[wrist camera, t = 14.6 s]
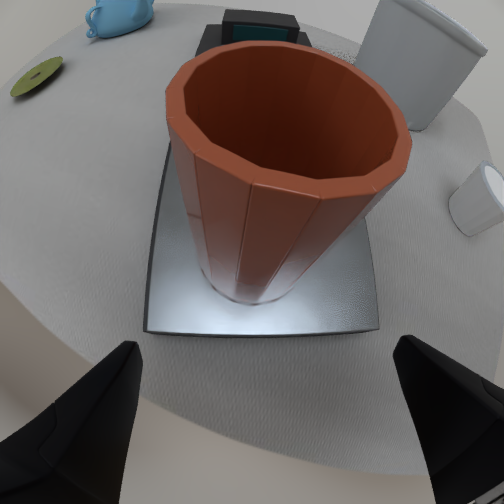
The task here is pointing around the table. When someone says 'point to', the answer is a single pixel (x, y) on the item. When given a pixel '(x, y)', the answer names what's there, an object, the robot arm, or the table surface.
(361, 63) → the utensil holder
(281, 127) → the cup
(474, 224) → the shot glass
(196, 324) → the scale
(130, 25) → the teapot
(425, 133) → the table surface
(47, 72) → the mat
